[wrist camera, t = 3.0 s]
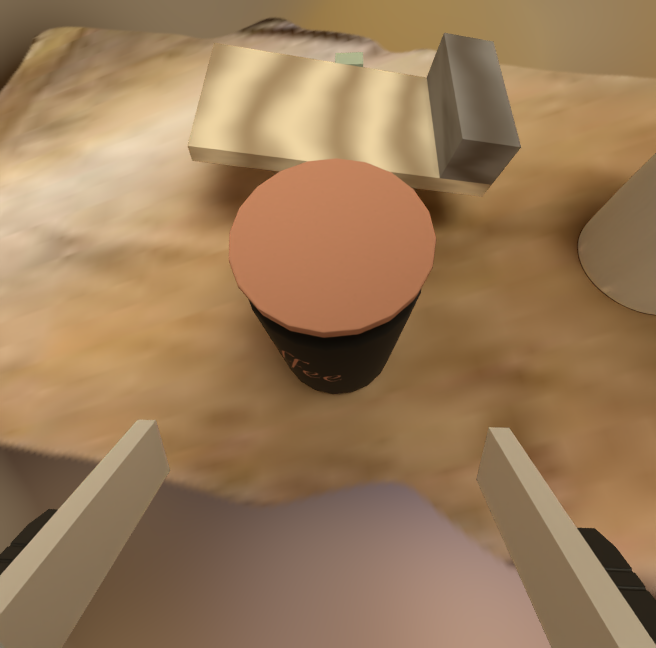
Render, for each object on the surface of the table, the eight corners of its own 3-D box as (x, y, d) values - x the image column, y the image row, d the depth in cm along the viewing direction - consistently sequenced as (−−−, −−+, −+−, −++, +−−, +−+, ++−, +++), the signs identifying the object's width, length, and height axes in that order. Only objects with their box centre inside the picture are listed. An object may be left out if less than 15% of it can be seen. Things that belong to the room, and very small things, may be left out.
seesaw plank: (455, 108, 38) (491, 35, 31) (473, 217, 32) (523, 156, 26) (221, 72, 35) (206, -17, 28) (195, 184, 29) (169, 106, 23)
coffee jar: (267, 329, 34) (193, 212, 17) (351, 280, 36) (358, 130, 19) (319, 417, 30) (291, 378, 14) (410, 358, 32) (483, 259, 15)
